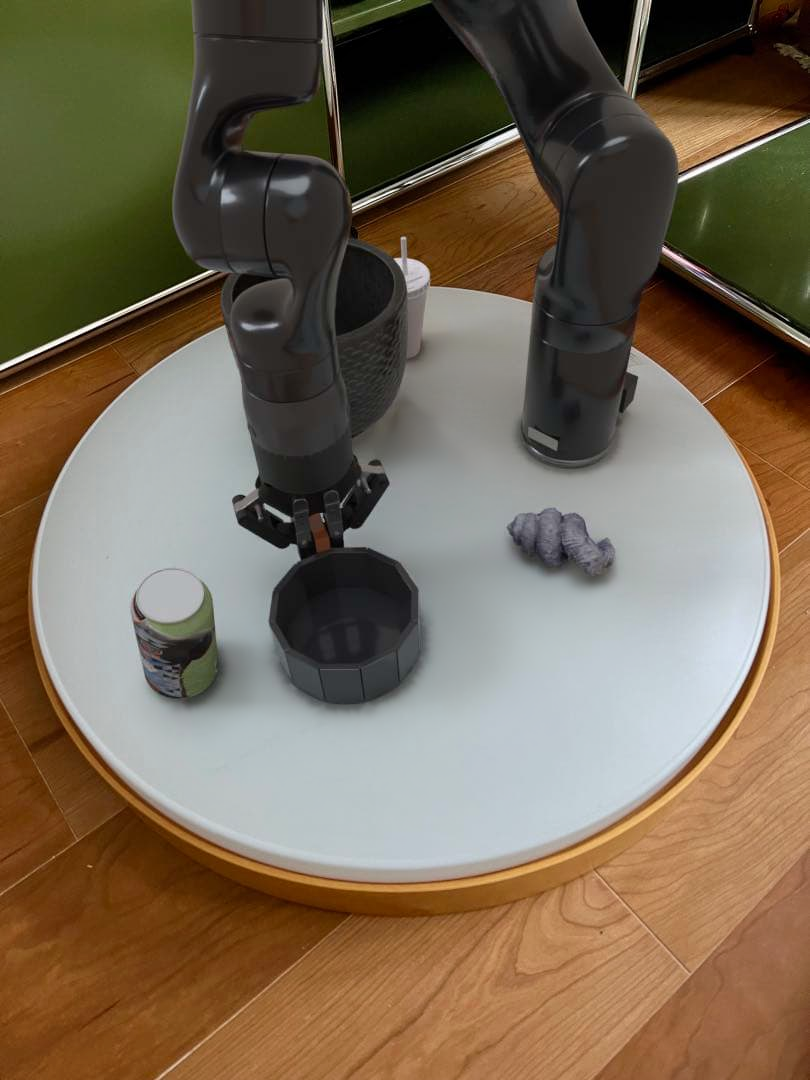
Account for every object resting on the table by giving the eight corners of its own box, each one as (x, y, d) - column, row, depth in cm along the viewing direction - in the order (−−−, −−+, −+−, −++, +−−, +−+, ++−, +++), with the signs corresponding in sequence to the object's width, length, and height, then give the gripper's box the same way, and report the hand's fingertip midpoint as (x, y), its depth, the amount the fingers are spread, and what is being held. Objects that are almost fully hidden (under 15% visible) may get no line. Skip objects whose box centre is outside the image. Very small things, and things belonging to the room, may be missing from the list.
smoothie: (426, 369, 98) (423, 259, 87) (369, 363, 99) (359, 253, 88) (436, 333, 102) (435, 222, 91) (381, 327, 103) (373, 217, 92)
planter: (299, 346, 102) (278, 219, 89) (438, 385, 97) (436, 256, 84) (218, 446, 92) (182, 319, 80) (368, 495, 87) (354, 368, 75)
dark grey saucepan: (242, 591, 80) (227, 543, 75) (360, 538, 84) (354, 488, 78) (316, 729, 72) (306, 685, 66) (446, 663, 75) (445, 616, 69)
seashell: (612, 573, 82) (506, 550, 84) (624, 516, 80) (516, 495, 83) (608, 588, 77) (494, 563, 79) (621, 527, 75) (505, 504, 78)
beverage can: (152, 645, 77) (111, 561, 68) (237, 638, 77) (208, 552, 68) (145, 711, 73) (101, 630, 64) (235, 702, 73) (204, 621, 64)
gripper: (371, 365, 70) (383, 510, 83) (199, 406, 67) (239, 549, 81) (401, 428, 65) (408, 571, 79) (217, 474, 63) (257, 614, 76)
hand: (322, 559), depth 80 cm, fingers closed
